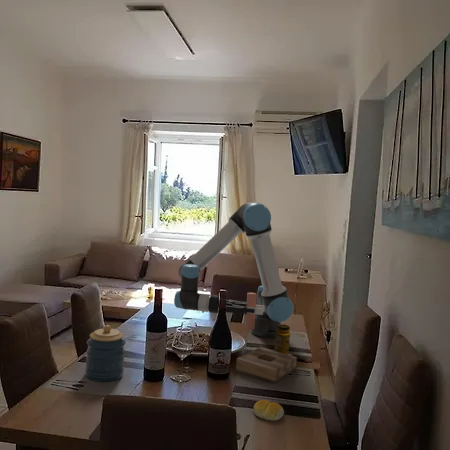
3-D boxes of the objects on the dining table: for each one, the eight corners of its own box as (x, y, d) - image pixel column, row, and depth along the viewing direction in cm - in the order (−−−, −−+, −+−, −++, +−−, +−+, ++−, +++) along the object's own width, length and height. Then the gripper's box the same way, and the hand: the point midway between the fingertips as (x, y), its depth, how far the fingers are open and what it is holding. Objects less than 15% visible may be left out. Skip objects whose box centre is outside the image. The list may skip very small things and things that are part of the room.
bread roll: (260, 405, 149) (261, 393, 149) (286, 414, 144) (287, 401, 144) (247, 415, 142) (248, 402, 142) (274, 424, 137) (275, 411, 137)
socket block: (259, 359, 190) (260, 347, 190) (295, 369, 181) (296, 357, 181) (235, 371, 175) (236, 358, 175) (274, 383, 166) (275, 370, 166)
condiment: (292, 355, 198) (295, 327, 197) (277, 358, 193) (279, 329, 192) (281, 349, 204) (283, 322, 203) (266, 352, 199) (268, 324, 198)
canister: (89, 384, 155) (92, 332, 153) (81, 370, 166) (84, 321, 165) (128, 380, 161) (131, 329, 159) (118, 366, 172) (121, 318, 171)
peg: (247, 326, 202) (250, 292, 201) (255, 328, 200) (258, 293, 199) (242, 328, 199) (245, 293, 198) (251, 330, 197) (253, 295, 196)
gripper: (214, 307, 211) (265, 314, 206) (204, 316, 195) (259, 324, 190) (215, 291, 211) (267, 297, 206) (205, 299, 194) (261, 306, 189)
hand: (263, 310), depth 198 cm, fingers closed on peg, 4 cm apart
